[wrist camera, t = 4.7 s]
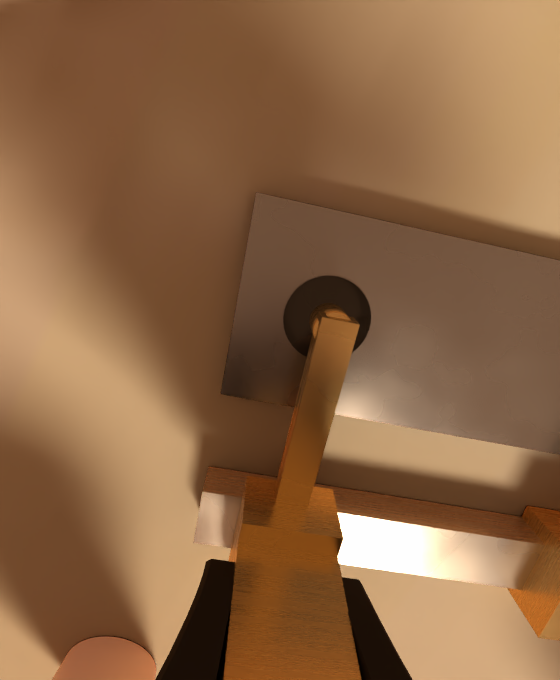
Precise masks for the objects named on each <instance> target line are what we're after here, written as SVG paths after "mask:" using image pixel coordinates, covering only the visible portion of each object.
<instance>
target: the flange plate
mask: <svg viewBox="0 0 560 680" xmlns="http://www.w3.org/2000/svg"><path fill="white" fill-rule="evenodd" d="M324 303H333V304H336V305H338V306H340V307H341V308H342V309H343V311H344V312H345V313H346V314H347V316H350V317H354V318H355V320H356V321H357V322H358V323H359V324H360V326H359V329H358V333H357V336H356V340H355V343H354V347H353V350H352V354H351V357H350V361H349V364H348V368H347V371H346V375H345V378H344V382H343V385H342V389H341V392H340V396H339V399H338V403H337V406H336V410H335V413H334V414H336V415H341V416H347V417H352V418H358V419H364V420H369V421H375V422H381V423H386V424H392V425H397V426H403V427H409V428H414V429H420V430H425V431H431V432H437V433H442V434H448V435H453V436H459V437H465V438H470V439H476V440H482V441H487V442H493V443H498V444H504V445H510V446H515V447H521V448H526V449H532V450H538V451H543V452H549V453H554V454H560V260H555V259H551V258H547V257H542V256H538V255H533V254H529V253H524V252H520V251H515V250H511V249H507V248H502V247H498V246H493V245H489V244H484V243H480V242H475V241H471V240H467V239H462V238H458V237H453V236H449V235H444V234H440V233H435V232H431V231H427V230H422V229H418V228H413V227H409V226H404V225H400V224H395V223H391V222H387V221H382V220H378V219H373V218H369V217H364V216H360V215H355V214H351V213H347V212H342V211H338V210H333V209H329V208H324V207H320V206H315V205H311V204H307V203H302V202H298V201H293V200H289V199H284V198H280V197H275V196H271V195H267V194H262V193H258V192H256V197H255V202H254V208H253V214H252V219H251V225H250V231H249V236H248V242H247V248H246V253H245V259H244V265H243V270H242V276H241V282H240V287H239V293H238V299H237V304H236V310H235V316H234V321H233V327H232V333H231V338H230V344H229V350H228V355H227V361H226V367H225V372H224V378H223V384H222V389H221V394H223V395H229V396H235V397H240V398H246V399H252V400H257V401H263V402H268V403H274V404H280V405H285V406H291V407H295V403H296V399H297V395H298V391H299V387H300V383H301V379H302V375H303V371H304V367H305V363H306V359H307V355H308V351H309V347H310V342H311V338H312V334H313V333H312V330H311V328H310V323H309V320H310V315H311V313H312V312H313V310H314V309H315V308H316V307H317V306H319V305H321V304H324Z"/></svg>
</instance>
